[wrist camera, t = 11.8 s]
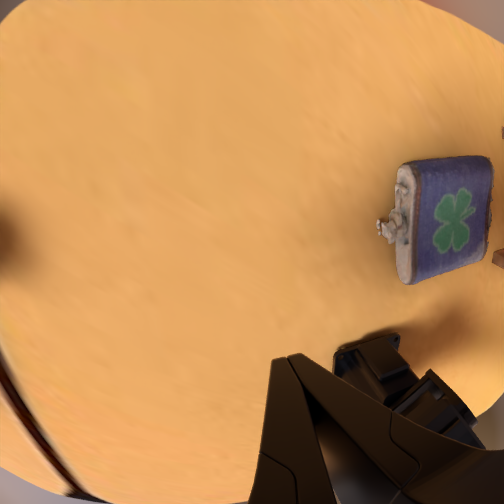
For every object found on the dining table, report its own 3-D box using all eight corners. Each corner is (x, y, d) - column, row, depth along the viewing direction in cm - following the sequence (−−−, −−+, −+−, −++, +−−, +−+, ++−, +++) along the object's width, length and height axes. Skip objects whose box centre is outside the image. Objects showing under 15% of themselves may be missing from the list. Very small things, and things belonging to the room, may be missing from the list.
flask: (485, 264, 21) (389, 298, 20) (465, 251, 23) (370, 279, 23) (496, 157, 17) (392, 165, 16) (471, 151, 20) (368, 159, 19)
